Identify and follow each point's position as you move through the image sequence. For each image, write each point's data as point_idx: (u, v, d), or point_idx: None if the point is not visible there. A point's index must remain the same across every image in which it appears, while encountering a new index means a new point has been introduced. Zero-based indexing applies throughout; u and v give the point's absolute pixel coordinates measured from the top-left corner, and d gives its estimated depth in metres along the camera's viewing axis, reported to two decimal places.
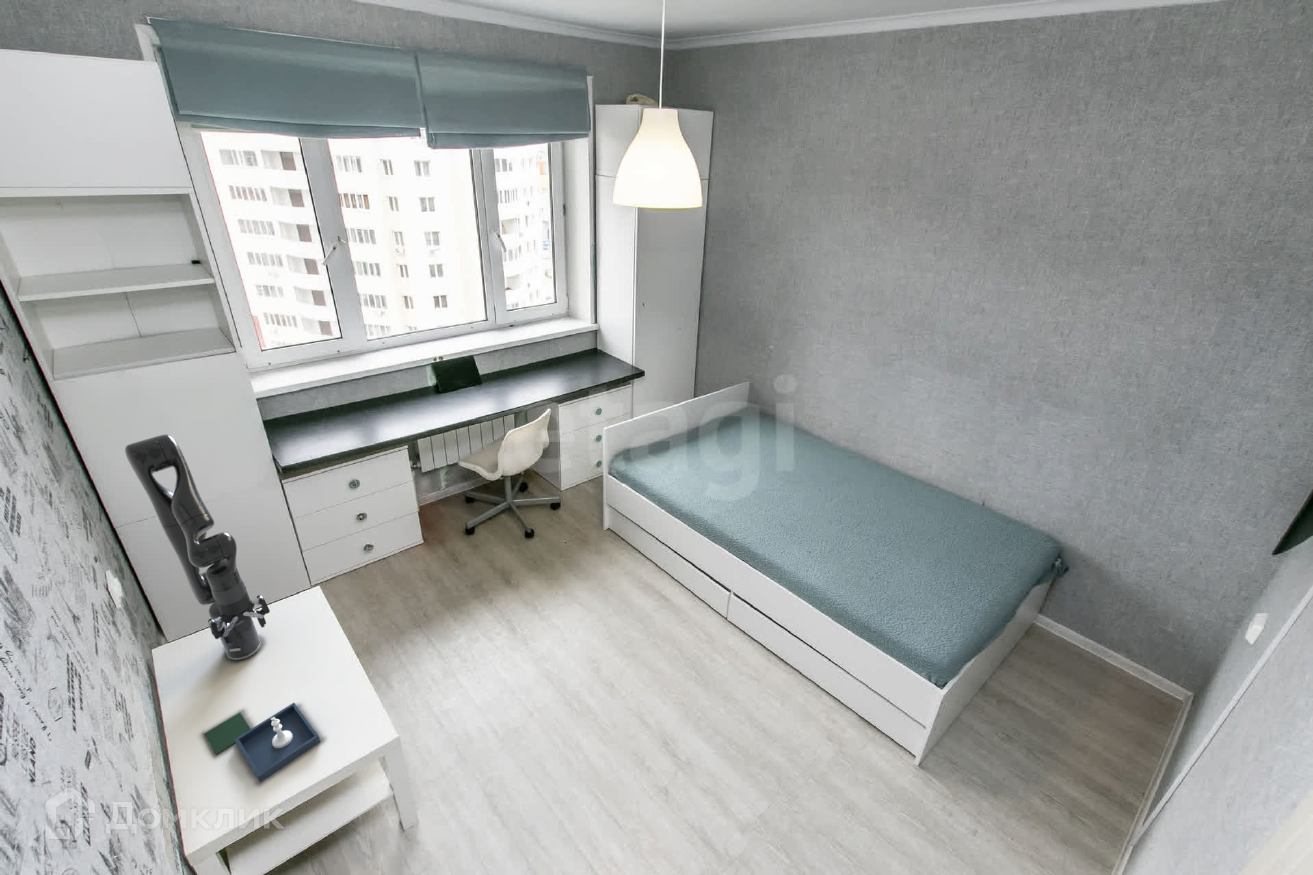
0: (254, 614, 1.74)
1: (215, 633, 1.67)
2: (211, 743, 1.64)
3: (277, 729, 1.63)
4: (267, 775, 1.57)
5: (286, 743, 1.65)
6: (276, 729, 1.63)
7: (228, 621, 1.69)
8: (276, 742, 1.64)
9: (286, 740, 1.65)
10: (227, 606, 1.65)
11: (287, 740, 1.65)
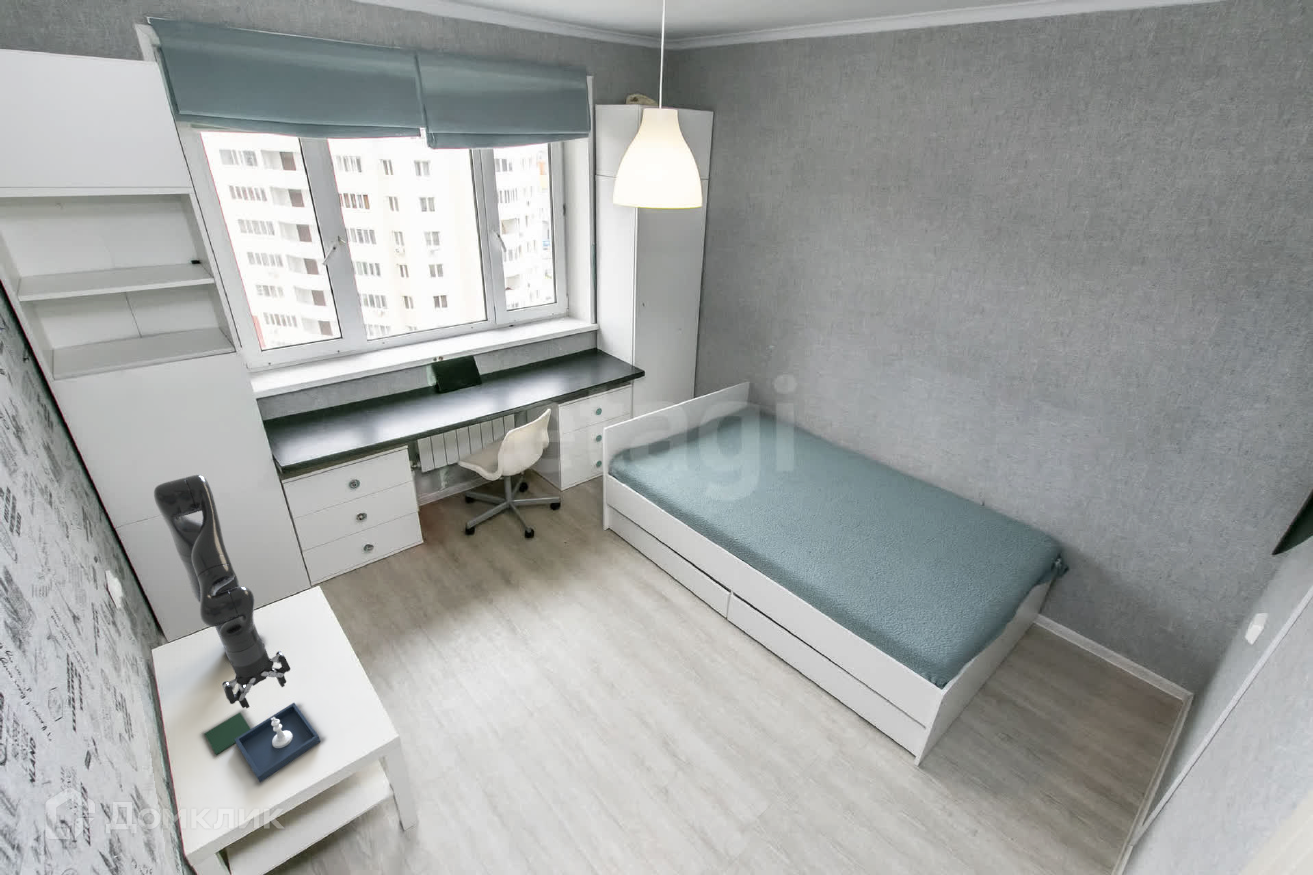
0: (273, 673, 1.55)
1: (230, 697, 1.48)
2: (211, 743, 1.64)
3: (277, 729, 1.63)
4: (267, 775, 1.57)
5: (286, 743, 1.65)
6: (276, 729, 1.63)
7: (245, 683, 1.50)
8: (276, 742, 1.64)
9: (286, 740, 1.65)
10: (244, 668, 1.46)
11: (287, 740, 1.65)
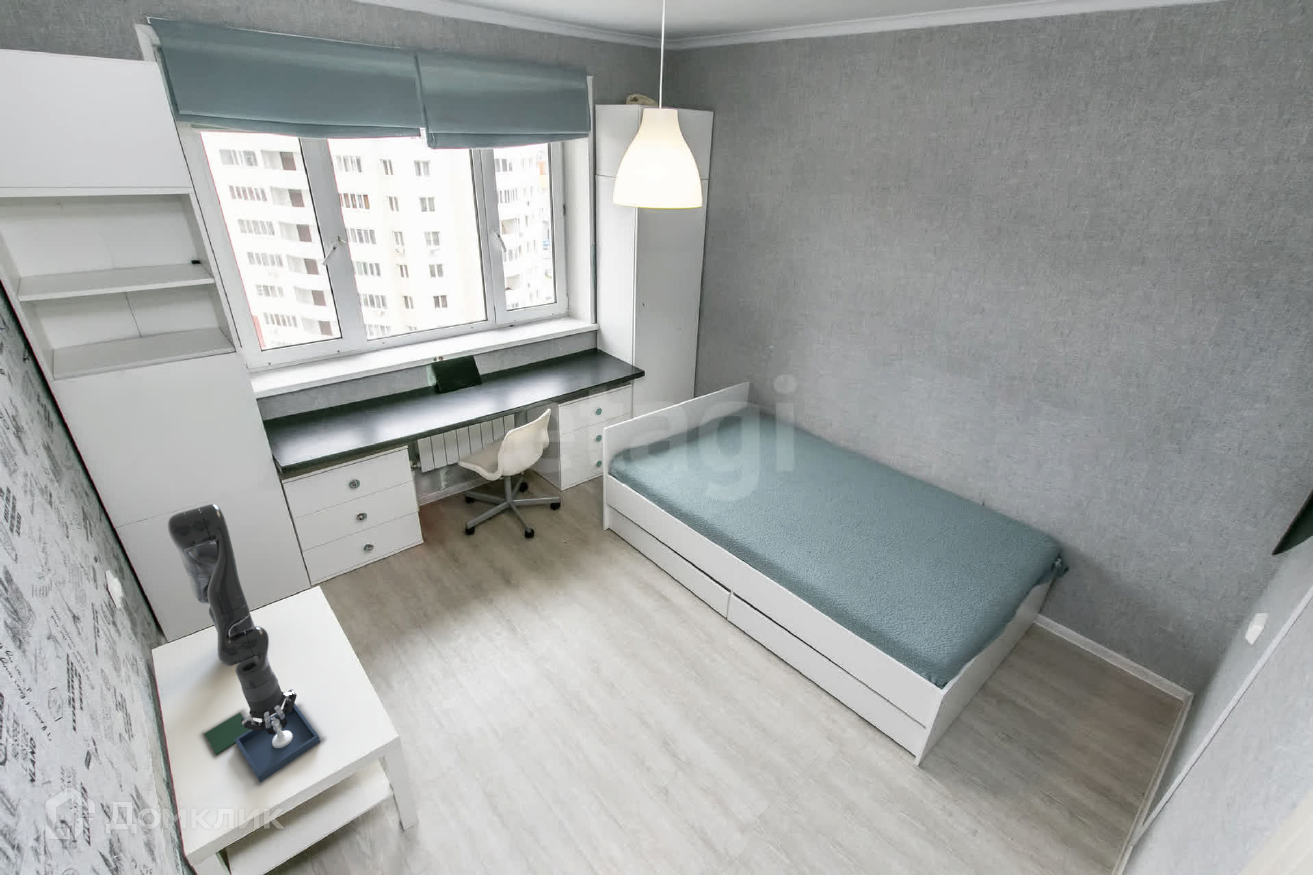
0: (281, 711, 1.60)
1: (255, 728, 1.57)
2: (211, 743, 1.64)
3: (277, 729, 1.63)
4: (267, 775, 1.57)
5: (286, 743, 1.65)
6: (276, 729, 1.63)
7: (258, 717, 1.56)
8: (276, 742, 1.64)
9: (286, 740, 1.65)
10: (258, 703, 1.52)
11: (287, 740, 1.65)
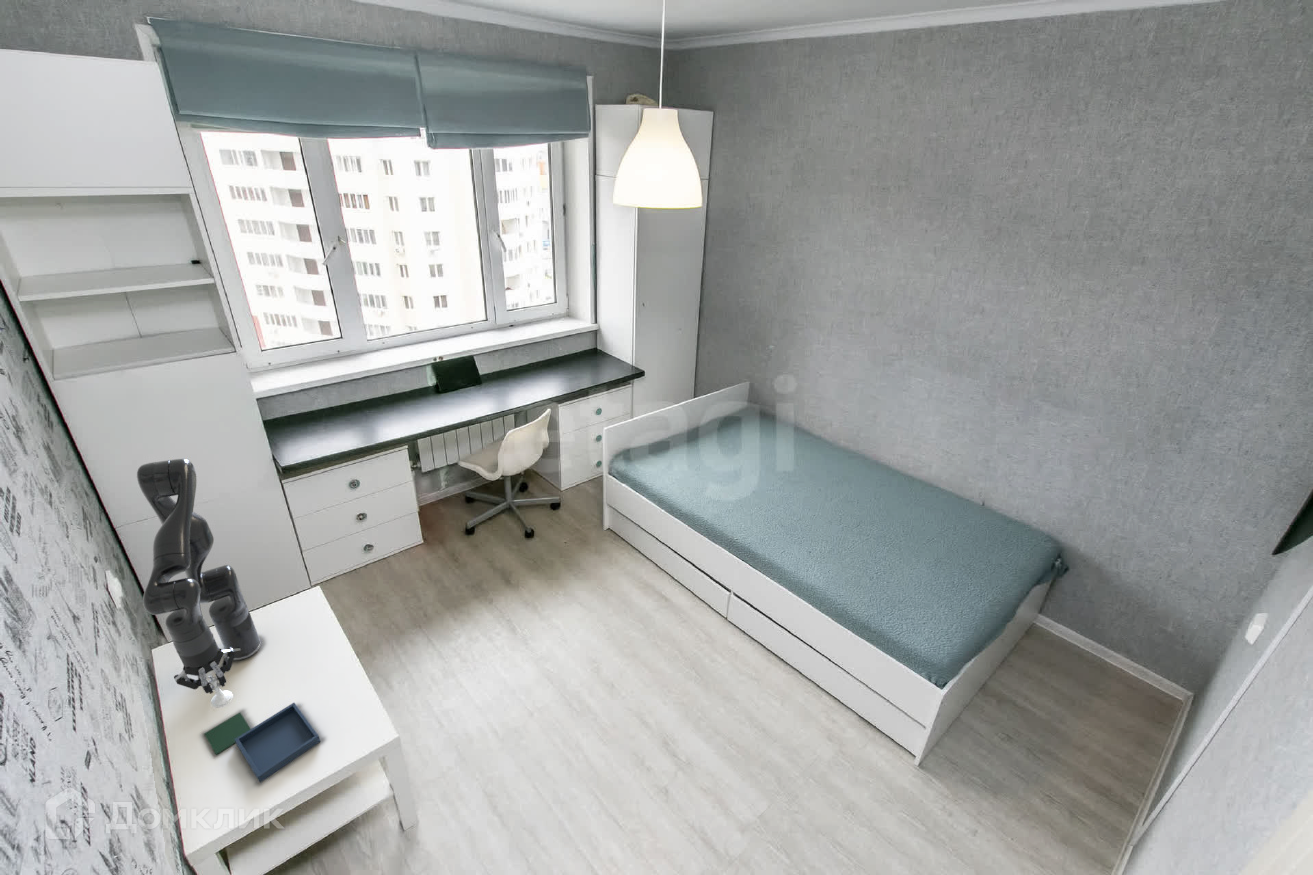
0: (218, 669, 1.54)
1: (190, 686, 1.50)
2: (211, 743, 1.64)
3: (215, 688, 1.56)
4: (267, 775, 1.57)
5: (225, 703, 1.58)
6: (214, 688, 1.56)
7: (193, 673, 1.50)
8: (215, 702, 1.58)
9: (225, 700, 1.58)
10: (191, 658, 1.46)
11: (226, 700, 1.58)
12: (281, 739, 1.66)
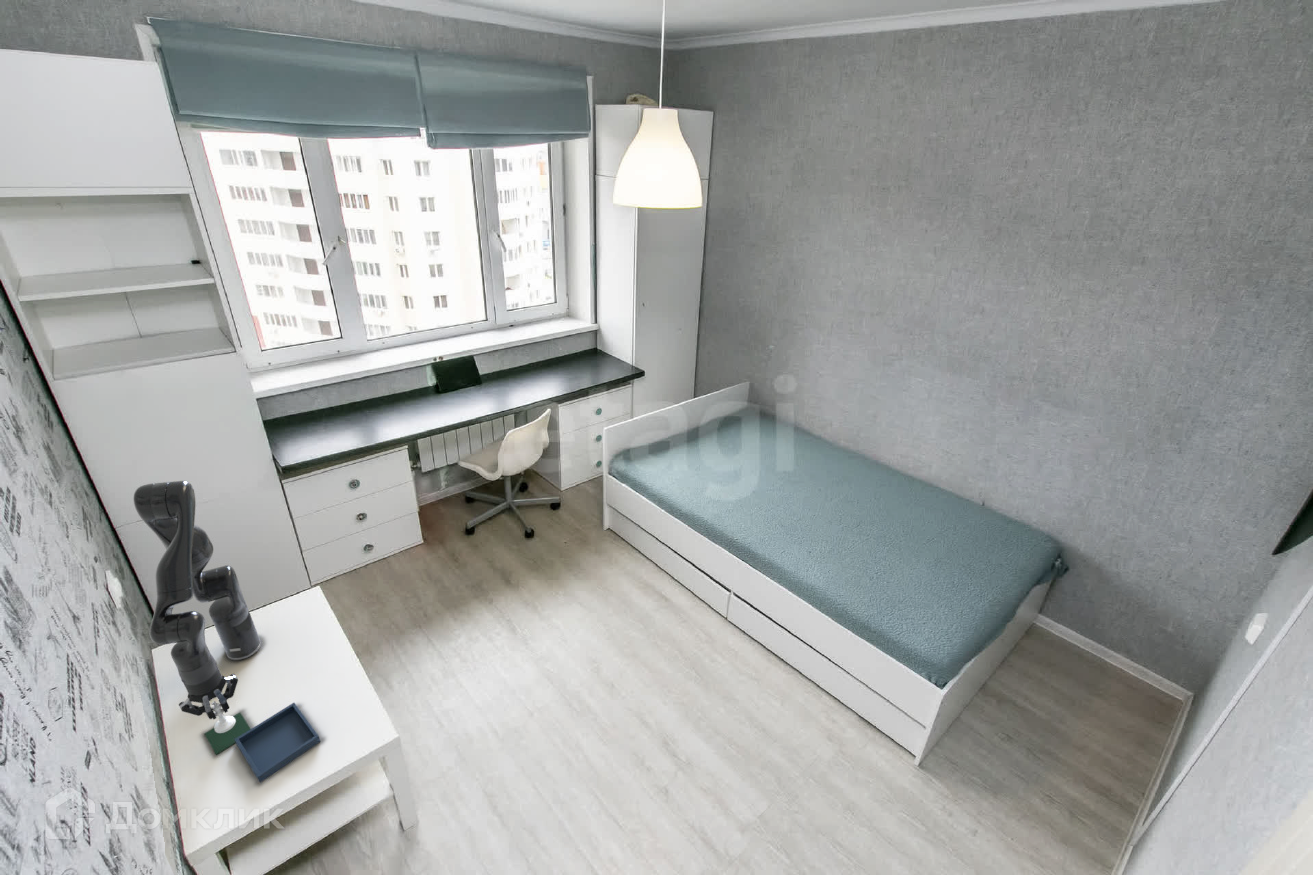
0: (221, 696, 1.59)
1: (194, 713, 1.56)
2: (211, 743, 1.64)
3: (218, 714, 1.62)
4: (267, 775, 1.57)
5: (228, 728, 1.64)
6: (217, 714, 1.61)
7: (197, 700, 1.55)
8: (218, 727, 1.63)
9: (228, 725, 1.64)
10: (195, 686, 1.51)
11: (229, 725, 1.64)
12: (281, 739, 1.66)
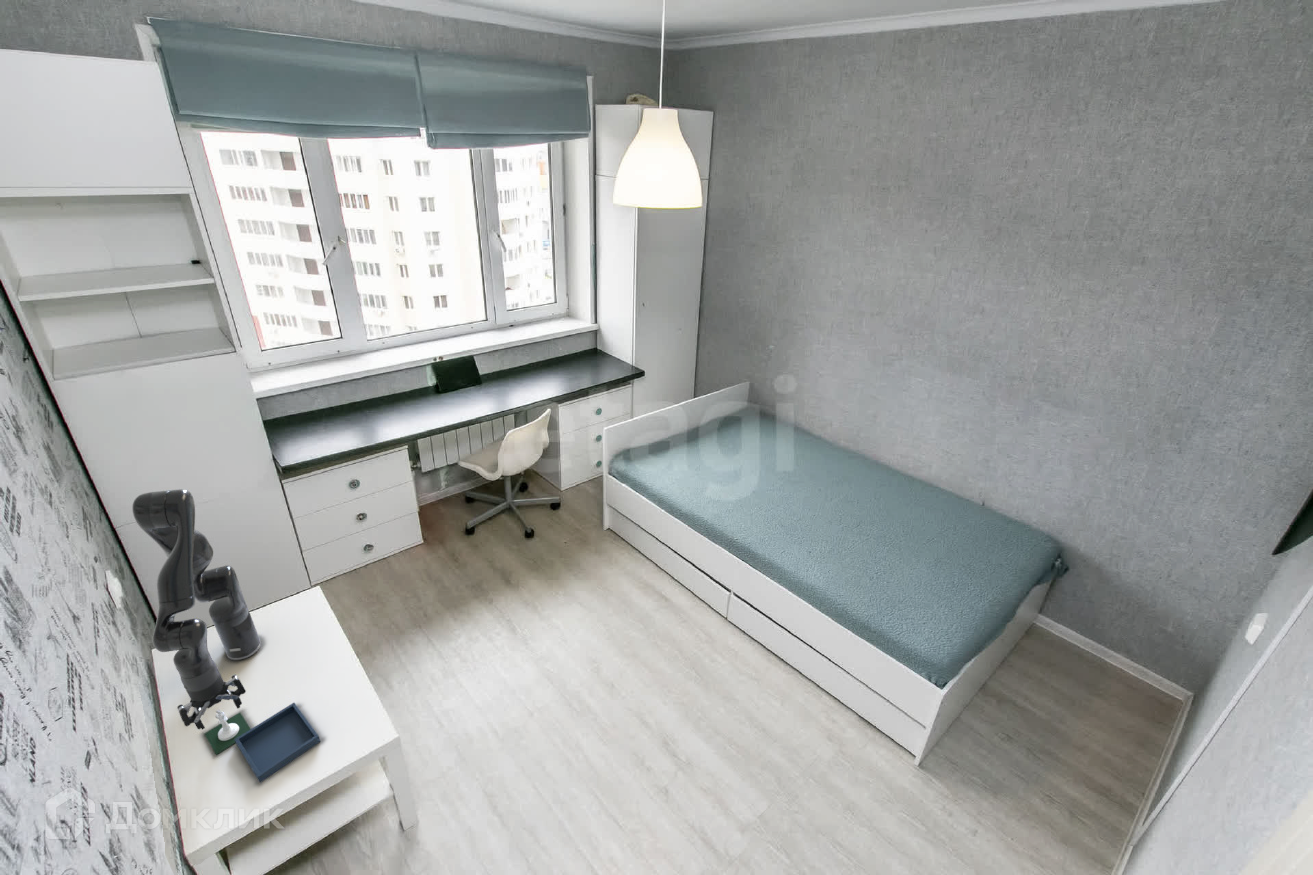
0: (228, 696, 1.61)
1: (185, 720, 1.55)
2: (211, 743, 1.64)
3: (222, 722, 1.63)
4: (267, 775, 1.57)
5: (232, 736, 1.65)
6: (221, 722, 1.63)
7: (199, 706, 1.56)
8: (222, 735, 1.65)
9: (232, 732, 1.66)
10: (197, 692, 1.52)
11: (233, 733, 1.66)
12: (281, 739, 1.66)
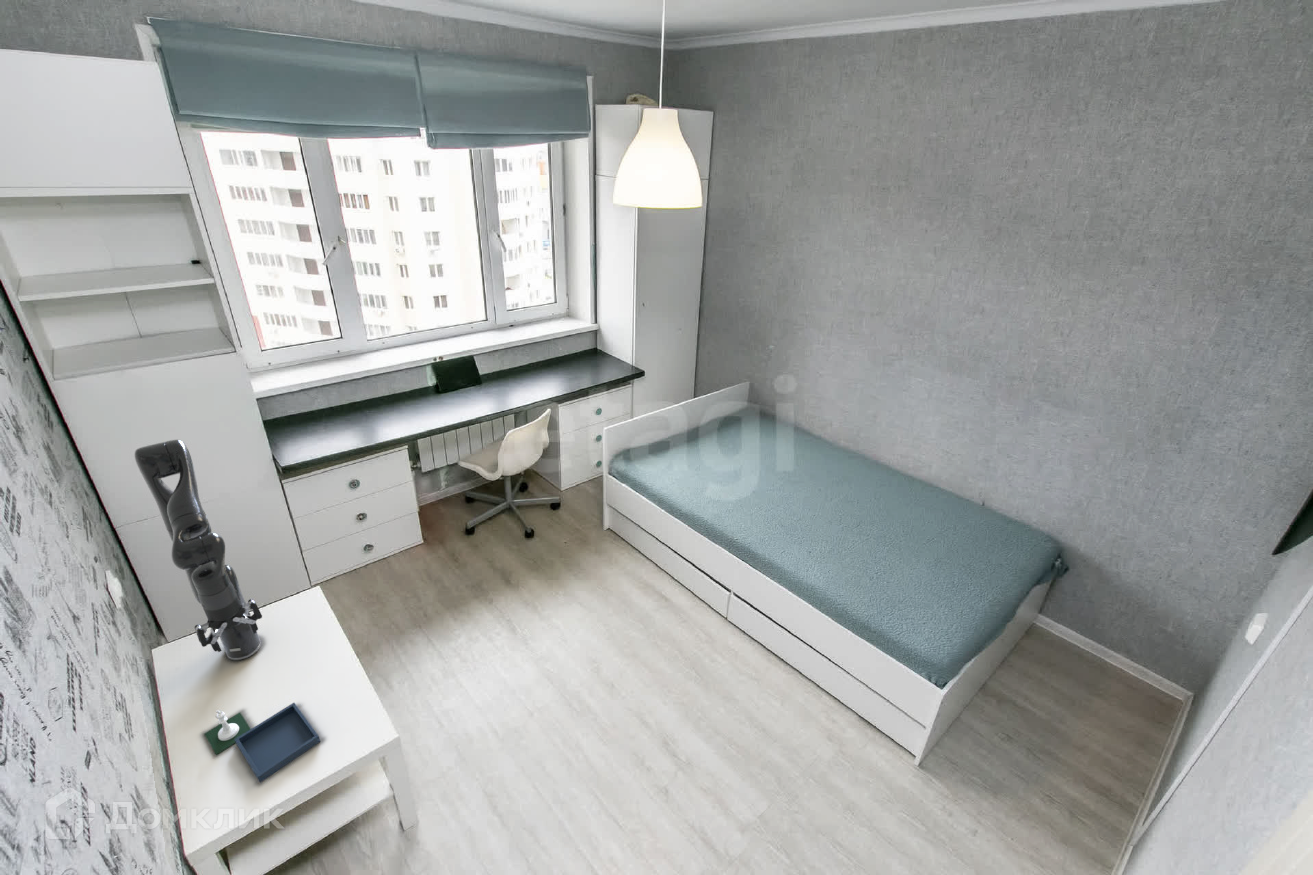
0: (245, 620, 1.60)
1: (202, 640, 1.54)
2: (211, 743, 1.64)
3: (222, 721, 1.63)
4: (267, 775, 1.57)
5: (232, 736, 1.65)
6: (221, 721, 1.63)
7: (216, 627, 1.56)
8: (222, 735, 1.65)
9: (232, 732, 1.66)
10: (215, 612, 1.52)
11: (233, 733, 1.66)
12: (281, 739, 1.66)
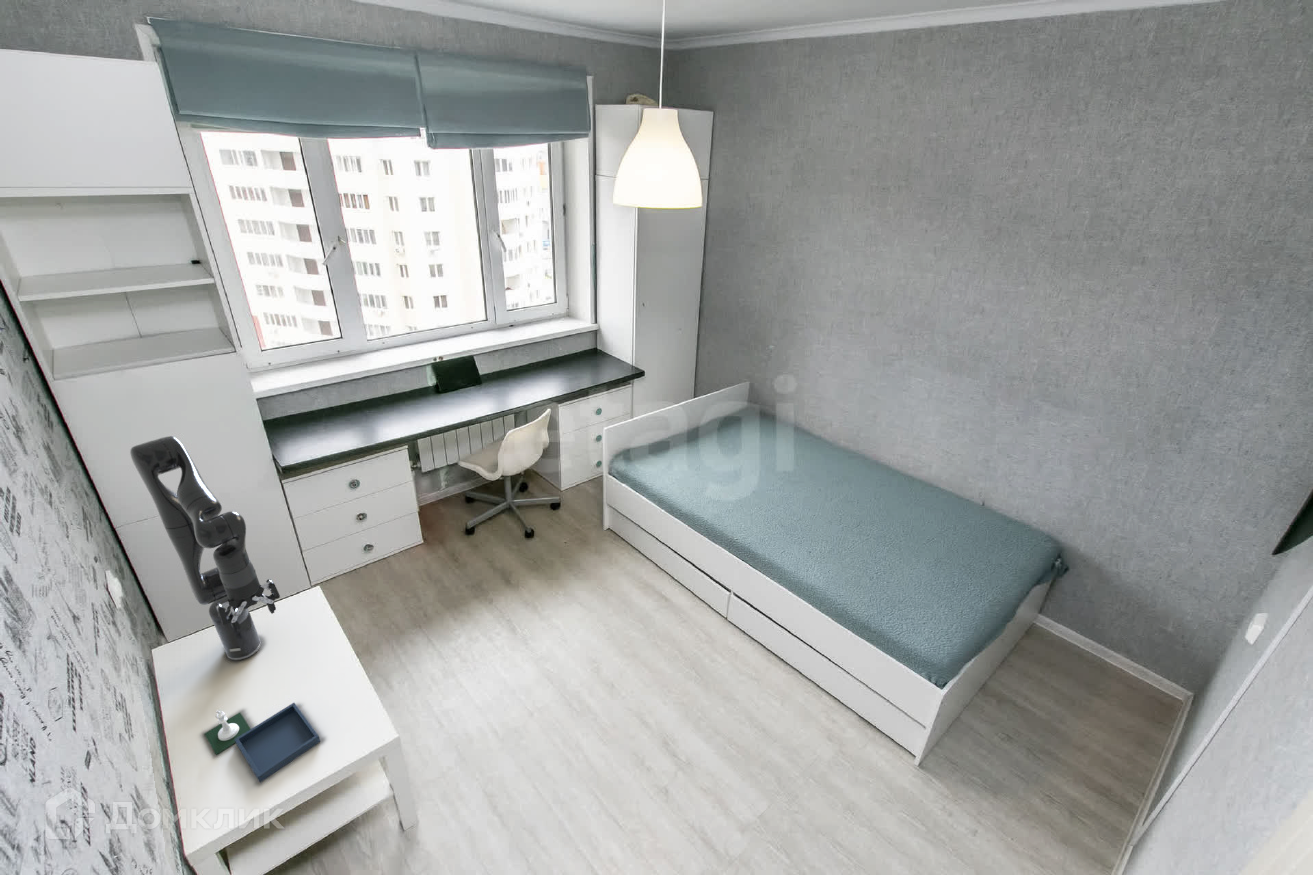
0: (264, 599, 1.65)
1: (223, 618, 1.58)
2: (211, 743, 1.64)
3: (222, 721, 1.63)
4: (267, 775, 1.57)
5: (232, 736, 1.65)
6: (221, 721, 1.63)
7: (236, 606, 1.60)
8: (222, 735, 1.65)
9: (232, 732, 1.66)
10: (236, 590, 1.56)
11: (233, 733, 1.66)
12: (281, 739, 1.66)
